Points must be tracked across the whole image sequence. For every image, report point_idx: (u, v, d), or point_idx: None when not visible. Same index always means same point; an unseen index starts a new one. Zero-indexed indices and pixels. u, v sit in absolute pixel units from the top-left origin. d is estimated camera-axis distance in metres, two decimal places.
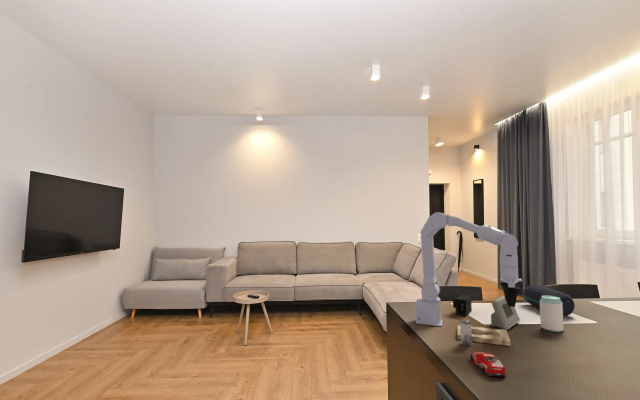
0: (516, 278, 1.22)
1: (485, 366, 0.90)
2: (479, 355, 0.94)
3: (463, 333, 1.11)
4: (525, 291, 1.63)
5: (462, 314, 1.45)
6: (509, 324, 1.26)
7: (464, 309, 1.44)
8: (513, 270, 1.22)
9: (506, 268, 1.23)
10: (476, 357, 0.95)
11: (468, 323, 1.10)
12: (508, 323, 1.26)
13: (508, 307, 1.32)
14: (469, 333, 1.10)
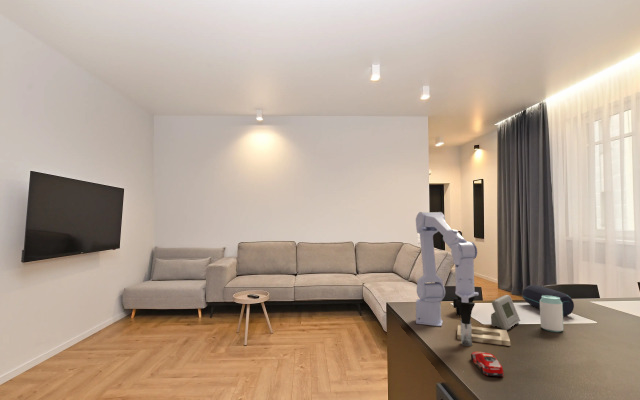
0: (472, 292, 1.10)
1: (483, 366, 0.90)
2: (478, 355, 0.94)
3: (463, 333, 1.11)
4: (524, 291, 1.62)
5: None
6: (509, 324, 1.26)
7: None
8: (468, 283, 1.10)
9: (461, 281, 1.10)
10: (475, 357, 0.95)
11: None
12: (508, 323, 1.26)
13: (508, 307, 1.32)
14: (469, 333, 1.10)
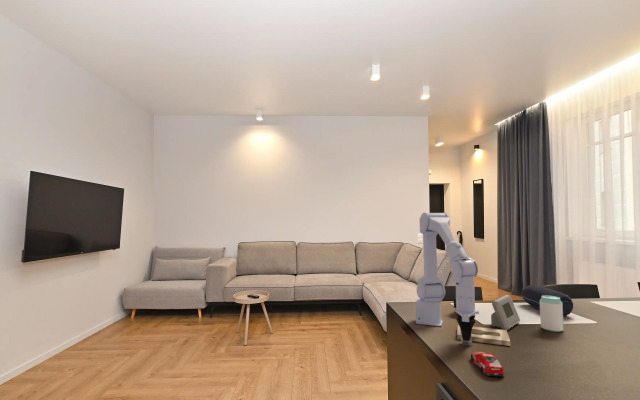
0: (472, 310, 1.09)
1: (483, 366, 0.90)
2: (478, 355, 0.94)
3: None
4: (524, 291, 1.62)
5: None
6: (509, 324, 1.26)
7: None
8: (469, 301, 1.09)
9: (461, 299, 1.10)
10: (475, 357, 0.95)
11: None
12: (508, 323, 1.25)
13: (508, 307, 1.32)
14: None
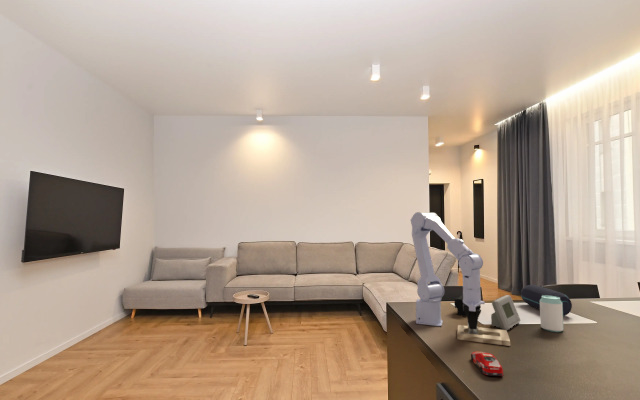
0: (478, 301, 1.18)
1: (482, 365, 0.90)
2: (478, 354, 0.95)
3: None
4: (522, 291, 1.62)
5: (464, 314, 1.44)
6: (509, 324, 1.26)
7: None
8: (475, 292, 1.18)
9: (468, 290, 1.19)
10: (475, 356, 0.96)
11: None
12: (508, 323, 1.25)
13: (508, 307, 1.31)
14: None
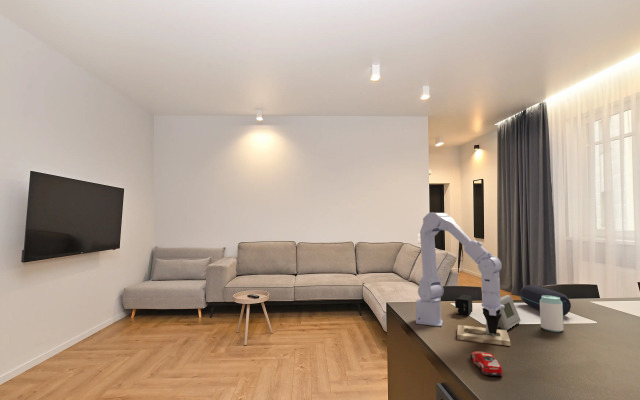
0: (498, 304, 1.15)
1: (482, 365, 0.90)
2: (477, 354, 0.95)
3: None
4: (522, 291, 1.62)
5: (464, 314, 1.44)
6: (509, 324, 1.26)
7: (466, 309, 1.44)
8: (495, 296, 1.15)
9: (488, 294, 1.16)
10: (475, 356, 0.96)
11: None
12: (508, 323, 1.25)
13: (509, 307, 1.31)
14: None
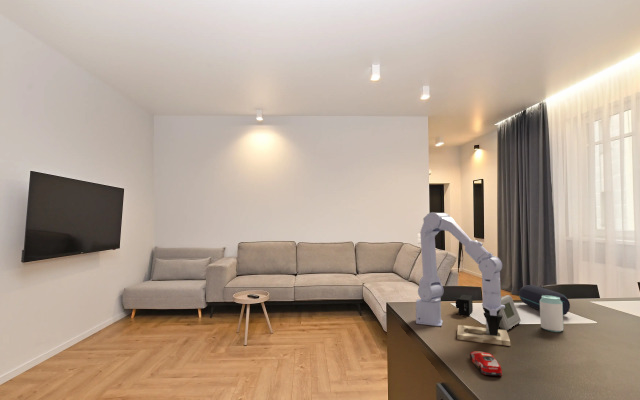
0: (499, 305, 1.15)
1: (481, 365, 0.90)
2: (477, 354, 0.95)
3: None
4: (521, 291, 1.62)
5: (465, 314, 1.44)
6: (509, 324, 1.25)
7: (467, 309, 1.44)
8: (495, 296, 1.15)
9: (488, 294, 1.16)
10: (474, 356, 0.96)
11: None
12: (508, 323, 1.25)
13: (509, 307, 1.31)
14: None
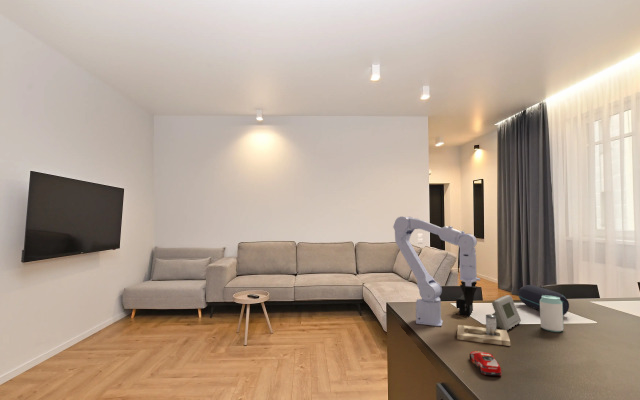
0: (474, 277, 1.25)
1: (481, 365, 0.90)
2: (476, 354, 0.95)
3: (489, 327, 1.16)
4: (520, 291, 1.62)
5: (466, 314, 1.44)
6: (509, 324, 1.25)
7: (468, 309, 1.44)
8: (471, 269, 1.25)
9: (465, 267, 1.26)
10: (474, 356, 0.96)
11: (494, 318, 1.16)
12: (508, 323, 1.25)
13: (509, 307, 1.31)
14: (494, 327, 1.16)
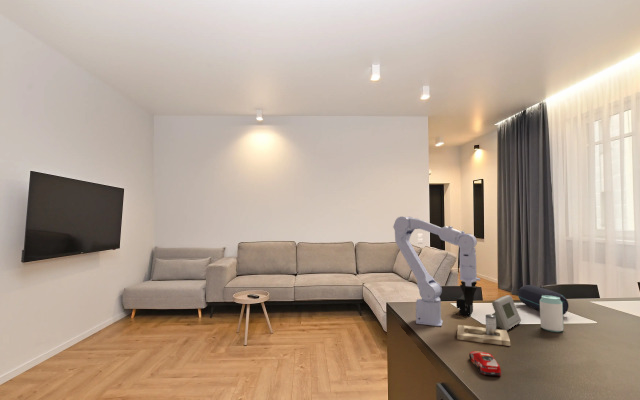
0: (474, 277, 1.25)
1: (480, 365, 0.90)
2: (476, 354, 0.95)
3: (489, 327, 1.16)
4: (520, 291, 1.62)
5: (466, 314, 1.44)
6: (509, 324, 1.25)
7: (468, 309, 1.44)
8: (471, 269, 1.25)
9: (465, 267, 1.26)
10: (473, 356, 0.96)
11: (493, 318, 1.16)
12: (508, 323, 1.25)
13: (509, 307, 1.31)
14: (494, 327, 1.16)
